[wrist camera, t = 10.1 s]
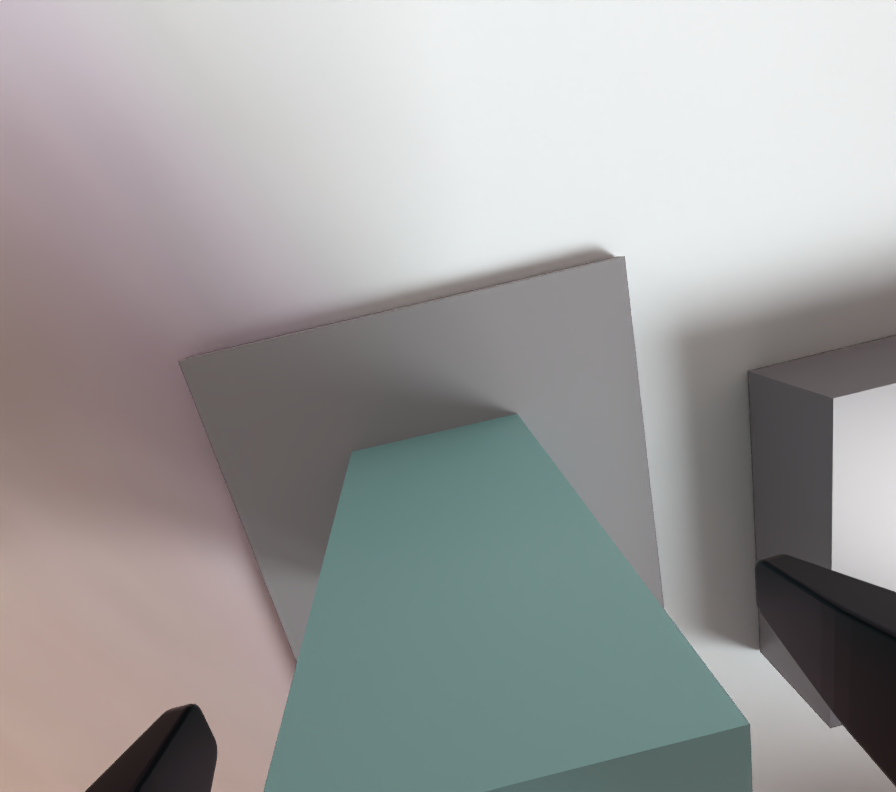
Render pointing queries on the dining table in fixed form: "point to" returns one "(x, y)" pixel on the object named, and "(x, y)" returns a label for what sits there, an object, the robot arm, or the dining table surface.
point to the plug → (492, 640)
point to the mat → (429, 410)
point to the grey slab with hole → (826, 473)
